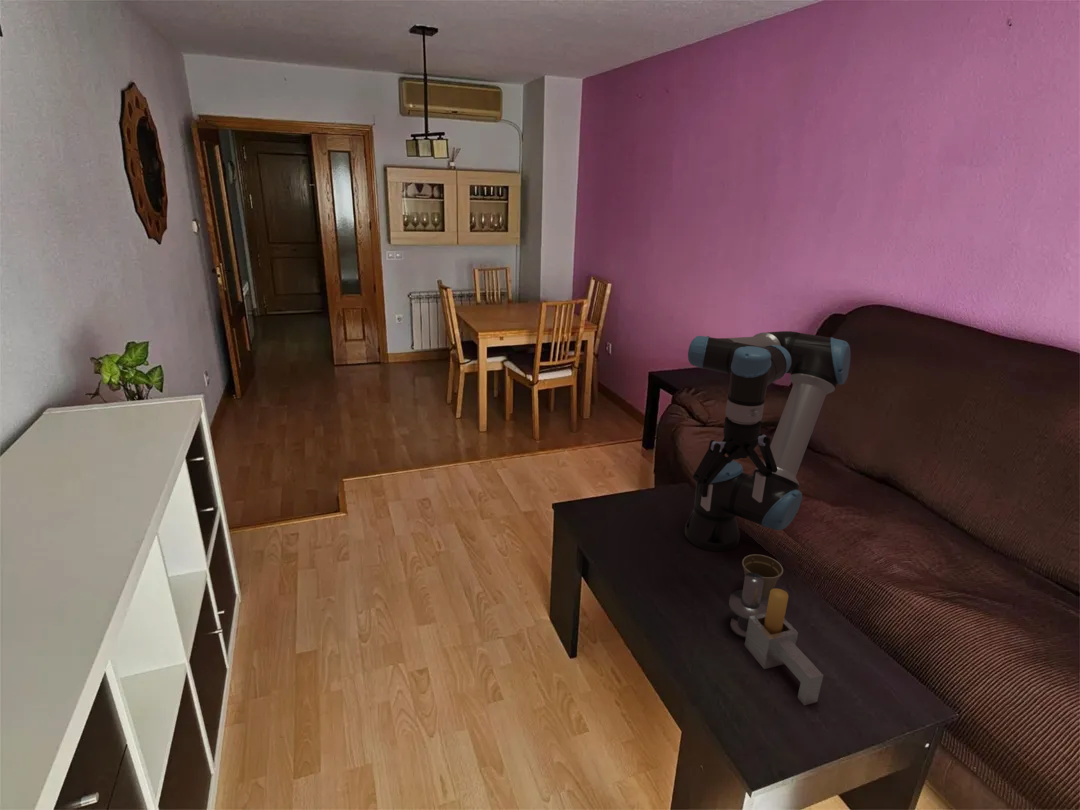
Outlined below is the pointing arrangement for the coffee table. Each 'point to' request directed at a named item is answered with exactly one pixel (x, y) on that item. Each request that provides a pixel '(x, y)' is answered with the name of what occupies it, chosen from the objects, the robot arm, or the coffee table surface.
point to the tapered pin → (776, 611)
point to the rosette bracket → (771, 638)
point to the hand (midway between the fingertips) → (731, 503)
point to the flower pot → (764, 570)
